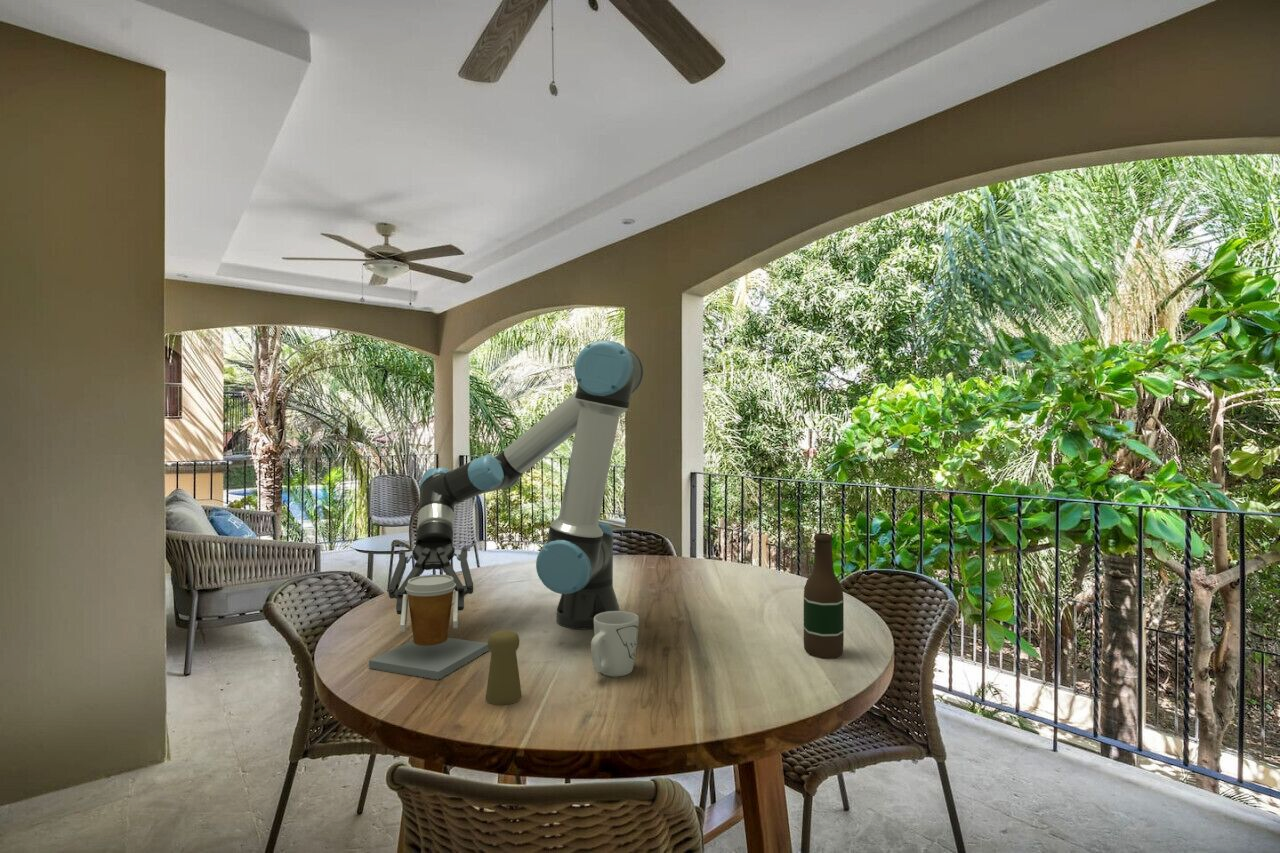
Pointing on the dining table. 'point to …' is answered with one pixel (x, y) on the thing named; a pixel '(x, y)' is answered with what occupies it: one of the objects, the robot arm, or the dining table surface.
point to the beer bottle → (823, 604)
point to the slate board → (429, 658)
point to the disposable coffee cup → (430, 607)
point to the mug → (614, 642)
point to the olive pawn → (503, 669)
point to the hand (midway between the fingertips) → (429, 626)
